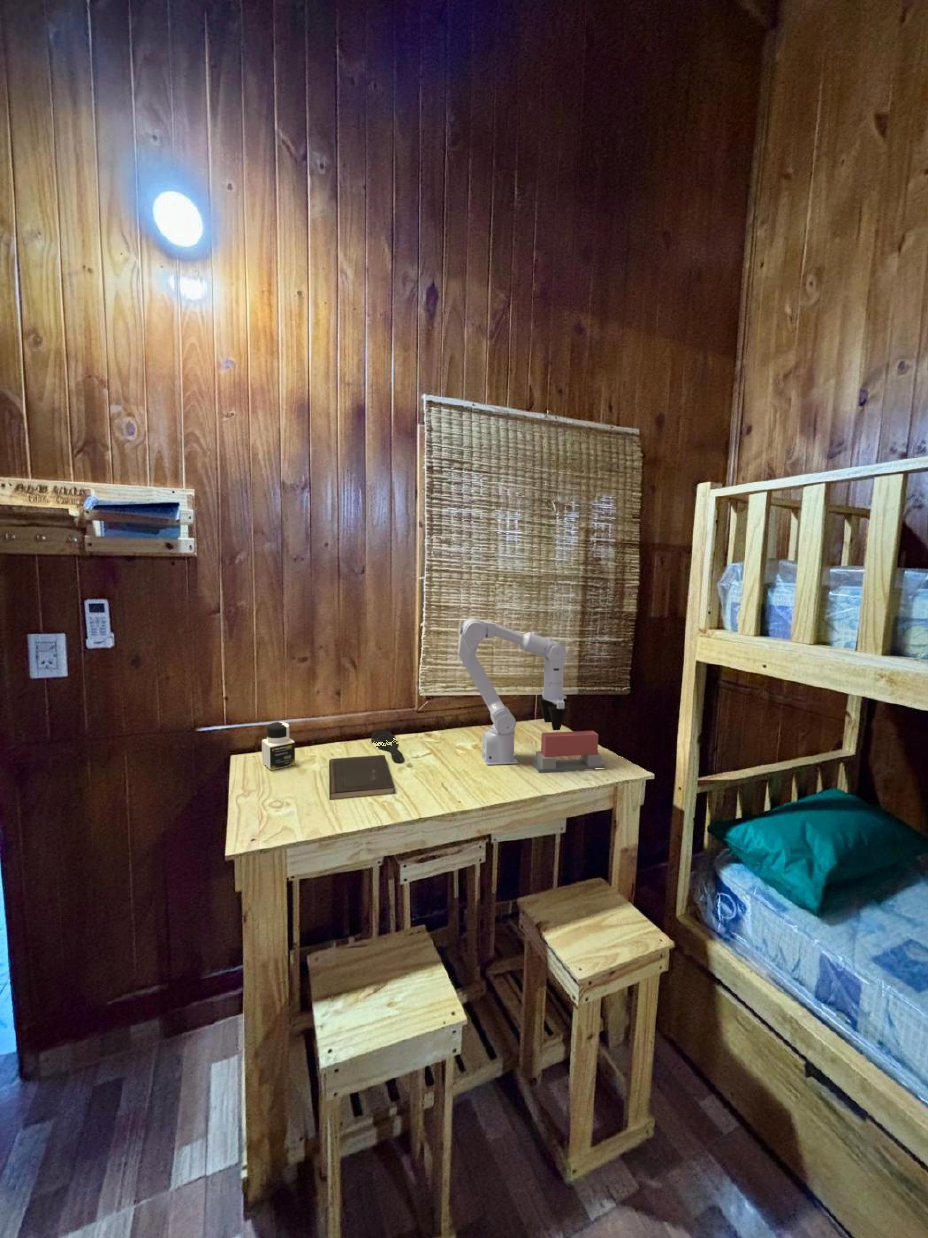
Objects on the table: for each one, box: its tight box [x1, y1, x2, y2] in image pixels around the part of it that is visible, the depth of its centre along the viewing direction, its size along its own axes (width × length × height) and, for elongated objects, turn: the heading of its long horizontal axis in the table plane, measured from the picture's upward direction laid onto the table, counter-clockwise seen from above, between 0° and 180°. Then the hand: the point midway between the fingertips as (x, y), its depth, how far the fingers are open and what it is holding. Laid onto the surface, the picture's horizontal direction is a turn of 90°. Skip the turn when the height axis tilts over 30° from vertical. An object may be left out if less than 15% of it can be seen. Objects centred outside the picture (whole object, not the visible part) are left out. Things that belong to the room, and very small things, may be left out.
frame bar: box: [540, 730, 599, 758], centre depth 149 cm, size 16×4×6 cm, turn 100°
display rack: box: [531, 750, 606, 773], centre depth 149 cm, size 20×6×4 cm, turn 100°
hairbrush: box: [370, 727, 405, 765], centre depth 161 cm, size 8×4×25 cm
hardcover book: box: [328, 754, 395, 800], centre depth 139 cm, size 16×23×2 cm
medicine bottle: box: [261, 721, 296, 771], centre depth 147 cm, size 7×7×12 cm
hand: (552, 725), depth 155 cm, fingers open, 7 cm apart
